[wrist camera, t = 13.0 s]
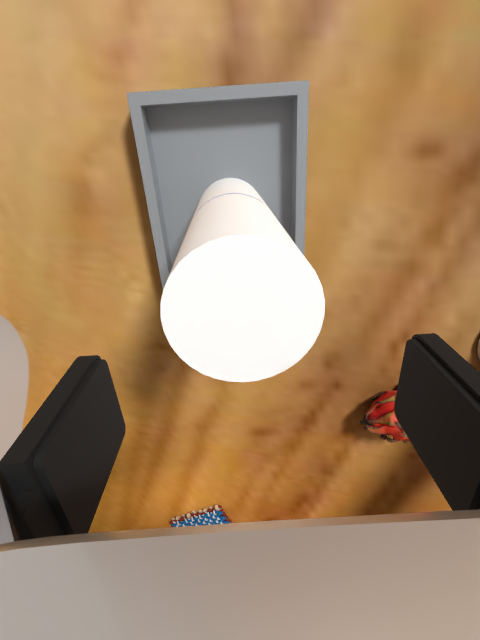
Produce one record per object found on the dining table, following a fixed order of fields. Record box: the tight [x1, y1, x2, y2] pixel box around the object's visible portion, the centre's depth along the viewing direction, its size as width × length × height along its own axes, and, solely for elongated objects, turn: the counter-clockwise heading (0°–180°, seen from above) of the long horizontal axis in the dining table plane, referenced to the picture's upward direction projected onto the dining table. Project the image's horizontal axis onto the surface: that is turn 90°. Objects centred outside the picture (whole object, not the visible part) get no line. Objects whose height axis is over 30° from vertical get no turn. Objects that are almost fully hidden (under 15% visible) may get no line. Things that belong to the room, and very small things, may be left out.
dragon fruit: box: [360, 390, 411, 443], centre depth 49 cm, size 8×8×12 cm
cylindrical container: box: [161, 178, 325, 382], centre depth 26 cm, size 7×7×25 cm
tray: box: [127, 80, 309, 289], centre depth 36 cm, size 16×22×4 cm
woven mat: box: [170, 505, 232, 527], centre depth 64 cm, size 10×11×2 cm
